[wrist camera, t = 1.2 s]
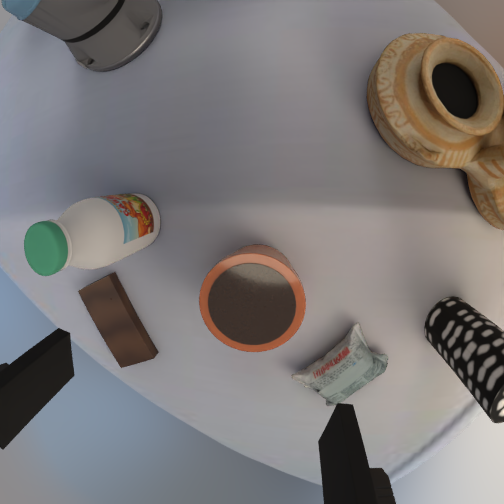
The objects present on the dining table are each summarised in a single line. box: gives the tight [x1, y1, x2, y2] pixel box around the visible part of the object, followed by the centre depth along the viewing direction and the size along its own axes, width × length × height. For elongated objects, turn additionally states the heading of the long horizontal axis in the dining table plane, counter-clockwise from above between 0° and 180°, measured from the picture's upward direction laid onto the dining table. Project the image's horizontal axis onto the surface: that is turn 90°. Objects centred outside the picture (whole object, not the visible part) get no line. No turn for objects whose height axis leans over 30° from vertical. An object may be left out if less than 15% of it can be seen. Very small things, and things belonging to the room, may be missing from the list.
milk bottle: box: [24, 193, 160, 276], centre depth 31 cm, size 8×8×20 cm
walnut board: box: [78, 272, 158, 368], centre depth 43 cm, size 14×7×2 cm, turn 24°
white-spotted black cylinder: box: [425, 297, 504, 423], centre depth 30 cm, size 8×8×20 cm
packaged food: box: [292, 323, 388, 406], centre depth 40 cm, size 9×12×5 cm
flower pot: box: [199, 245, 306, 352], centre depth 36 cm, size 11×11×9 cm
